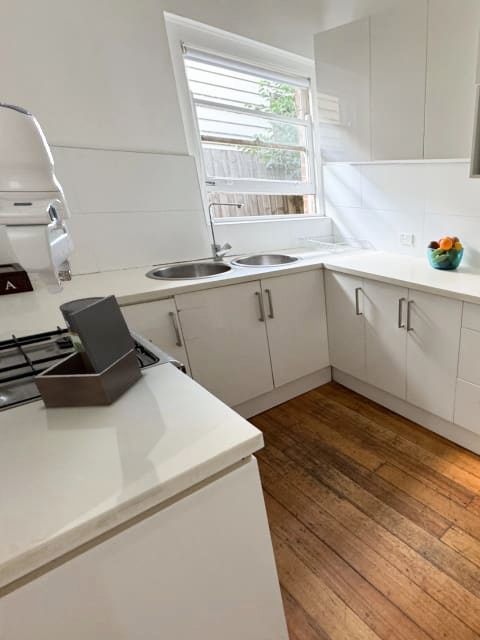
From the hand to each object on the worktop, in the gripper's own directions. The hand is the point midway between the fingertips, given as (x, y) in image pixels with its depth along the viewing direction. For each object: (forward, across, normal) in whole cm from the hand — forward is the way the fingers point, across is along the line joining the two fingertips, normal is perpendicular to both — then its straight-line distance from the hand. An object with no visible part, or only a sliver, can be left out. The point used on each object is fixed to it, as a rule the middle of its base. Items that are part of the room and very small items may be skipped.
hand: (62, 286), depth 72 cm
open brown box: (+23, -1, 0) cm, 23 cm away
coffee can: (+23, -21, -1) cm, 31 cm away
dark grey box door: (+10, +1, +4) cm, 11 cm away
